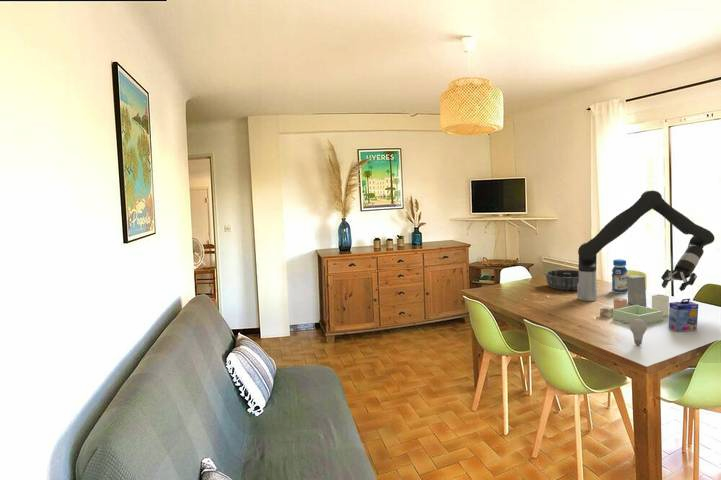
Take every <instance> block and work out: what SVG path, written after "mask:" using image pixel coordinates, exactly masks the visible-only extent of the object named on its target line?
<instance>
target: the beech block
mask: <svg viewBox="0 0 721 480" xmlns="http://www.w3.org/2000/svg"><path fill="white" fill-rule="evenodd" d="M613 310H614V307H611V306H604V305H603V306H601V307H599V317H601V318H607V319H611V318H613Z"/></svg>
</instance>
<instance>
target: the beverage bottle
mask: <svg viewBox="0 0 721 480" xmlns="http://www.w3.org/2000/svg"><path fill="white" fill-rule="evenodd" d="M612 263H613V264H612V265H613V268H612V270H611V272H612V273H611V287H612V288H611V292H612V293H613V294H614V293H615V294H626V293H627V278H626V276H629V275H628V269H627V267H626V266H627V260H626V259H620V258H619V259H614V260H612Z"/></svg>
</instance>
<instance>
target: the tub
mask: <svg viewBox="0 0 721 480" xmlns="http://www.w3.org/2000/svg"><path fill="white" fill-rule="evenodd" d="M634 319H641V320H643V321H644V322H645V323H646V325H647V326H648V325H651V324H655V323H660V322H663V321H664V317H663V311H661V310H657V309H652V307H647V306H639V305H630V306H627V307H624V308H619V309H614V308H613V317H612V320H613V321H614V320H615V321H618V322H621V323H625V324H628V325H629V324H630V322H631V321H632V320H634Z"/></svg>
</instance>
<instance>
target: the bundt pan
mask: <svg viewBox="0 0 721 480" xmlns="http://www.w3.org/2000/svg"><path fill="white" fill-rule="evenodd" d="M544 274H545V277H546V283H547V285H548V286H550V287H551V288H553V289H555V290H561V291H565V290H566V291H569V290H571V291H577V283H579V270H575V269H554V270H547V271H545V273H544Z"/></svg>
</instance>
